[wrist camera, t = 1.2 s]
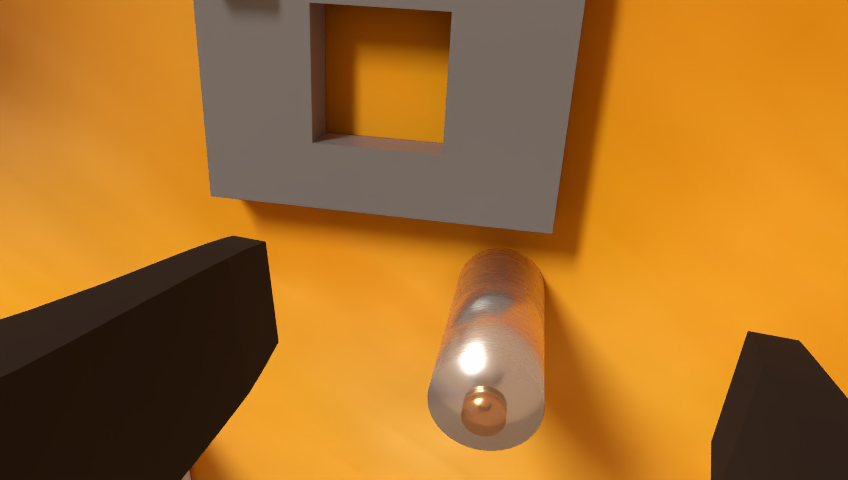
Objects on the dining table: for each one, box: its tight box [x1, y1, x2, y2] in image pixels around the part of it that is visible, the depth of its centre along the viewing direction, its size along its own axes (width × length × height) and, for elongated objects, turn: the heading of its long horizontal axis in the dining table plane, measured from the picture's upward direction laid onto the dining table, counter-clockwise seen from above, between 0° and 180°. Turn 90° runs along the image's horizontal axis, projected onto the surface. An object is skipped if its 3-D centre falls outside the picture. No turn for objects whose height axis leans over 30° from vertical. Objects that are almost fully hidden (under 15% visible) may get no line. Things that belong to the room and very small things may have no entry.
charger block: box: [194, 0, 585, 234], centre depth 20 cm, size 9×12×2 cm
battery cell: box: [428, 249, 544, 451], centre depth 20 cm, size 3×3×8 cm
